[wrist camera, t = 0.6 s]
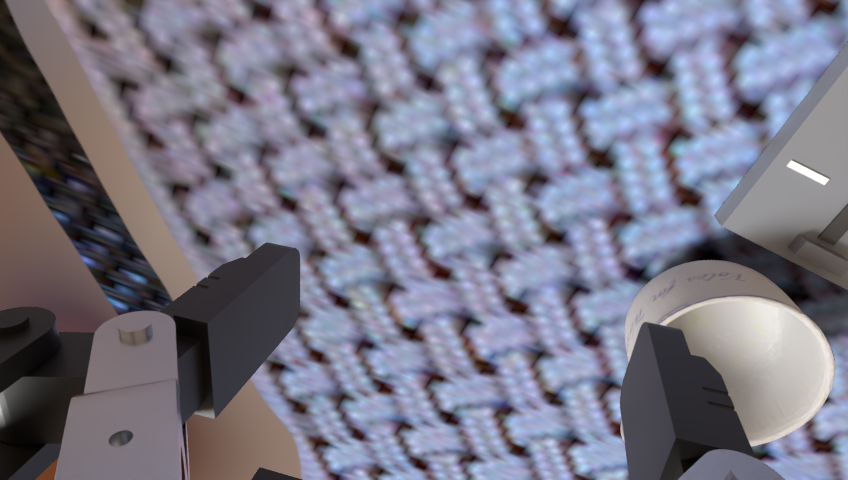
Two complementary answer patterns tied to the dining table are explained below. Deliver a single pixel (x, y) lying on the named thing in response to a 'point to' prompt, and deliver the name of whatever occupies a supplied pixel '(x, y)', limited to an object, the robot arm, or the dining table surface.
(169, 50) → the dining table surface
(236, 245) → the dining table surface
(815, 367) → the teacup
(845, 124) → the console
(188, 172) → the dining table surface
